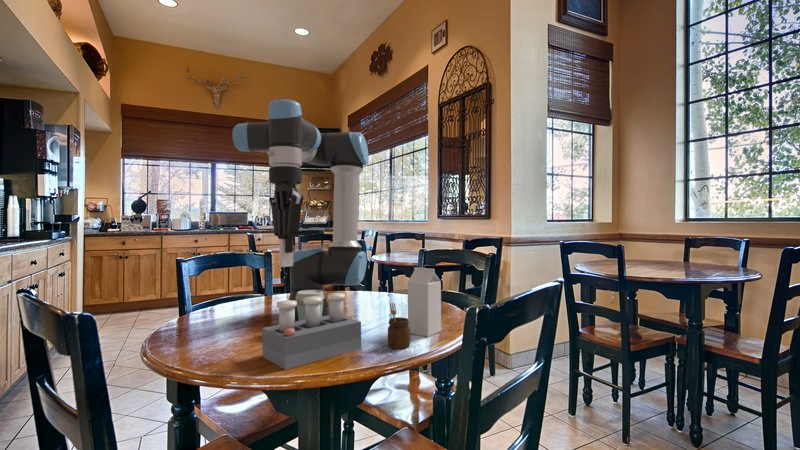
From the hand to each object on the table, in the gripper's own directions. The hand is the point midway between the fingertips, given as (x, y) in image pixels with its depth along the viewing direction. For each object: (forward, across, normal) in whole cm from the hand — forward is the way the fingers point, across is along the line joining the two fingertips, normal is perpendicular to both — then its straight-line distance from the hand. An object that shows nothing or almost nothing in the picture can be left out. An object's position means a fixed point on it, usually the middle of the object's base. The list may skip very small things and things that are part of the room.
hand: (286, 266), depth 95 cm
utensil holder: (+23, +11, +26) cm, 36 cm away
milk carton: (+23, +7, +40) cm, 46 cm away
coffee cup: (+23, -17, +16) cm, 33 cm away
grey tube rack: (+22, 0, +7) cm, 23 cm away
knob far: (+16, 0, +14) cm, 21 cm away
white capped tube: (+16, 0, 0) cm, 16 cm away
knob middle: (+16, 0, +7) cm, 17 cm away
